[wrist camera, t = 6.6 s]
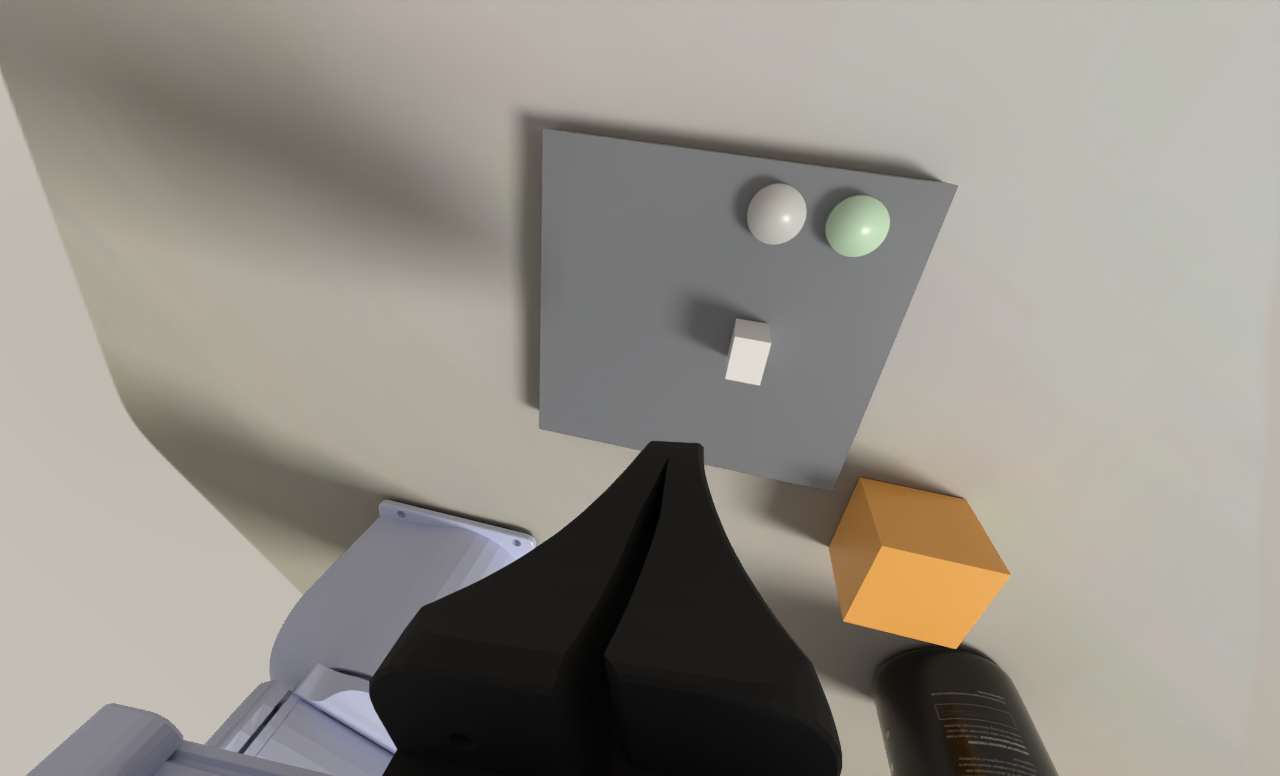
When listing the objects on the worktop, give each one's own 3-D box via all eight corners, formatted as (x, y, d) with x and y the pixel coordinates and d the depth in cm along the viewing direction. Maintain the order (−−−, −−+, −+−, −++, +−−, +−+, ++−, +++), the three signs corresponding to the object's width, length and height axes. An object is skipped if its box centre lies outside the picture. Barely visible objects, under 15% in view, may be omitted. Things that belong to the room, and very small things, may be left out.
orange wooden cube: (828, 547, 23) (842, 621, 19) (859, 477, 21) (881, 545, 17) (923, 569, 22) (956, 649, 19) (966, 499, 20) (1010, 574, 17)
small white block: (727, 357, 18) (724, 379, 16) (736, 318, 17) (735, 336, 16) (758, 363, 18) (759, 385, 16) (769, 324, 17) (771, 342, 15)
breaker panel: (548, 414, 22) (534, 434, 21) (555, 129, 17) (536, 128, 15) (827, 474, 21) (834, 500, 19) (943, 182, 15) (964, 187, 14)
